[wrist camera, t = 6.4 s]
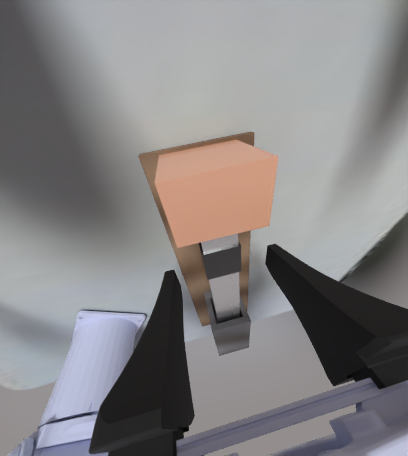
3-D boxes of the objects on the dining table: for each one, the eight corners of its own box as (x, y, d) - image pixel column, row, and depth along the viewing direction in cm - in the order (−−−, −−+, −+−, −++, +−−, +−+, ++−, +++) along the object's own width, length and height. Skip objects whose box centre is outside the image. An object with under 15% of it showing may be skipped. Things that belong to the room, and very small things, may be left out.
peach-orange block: (237, 190, 13) (269, 225, 9) (173, 204, 13) (177, 248, 9) (236, 139, 11) (278, 156, 7) (159, 155, 11) (154, 182, 7)
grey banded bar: (233, 303, 22) (241, 325, 20) (213, 308, 22) (219, 331, 20) (224, 163, 11) (240, 177, 8) (182, 172, 10) (186, 189, 8)
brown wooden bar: (245, 310, 28) (259, 346, 24) (201, 322, 28) (208, 361, 23) (250, 131, 11) (301, 143, 7) (139, 154, 11) (122, 181, 7)
